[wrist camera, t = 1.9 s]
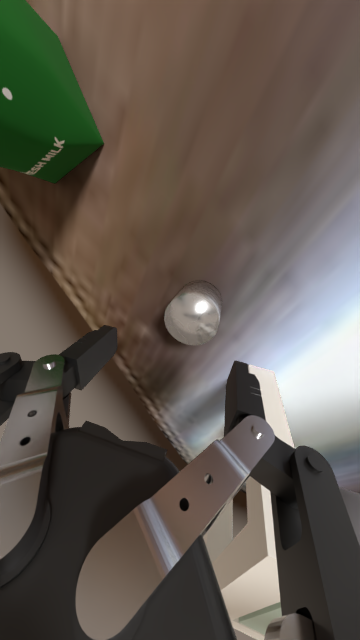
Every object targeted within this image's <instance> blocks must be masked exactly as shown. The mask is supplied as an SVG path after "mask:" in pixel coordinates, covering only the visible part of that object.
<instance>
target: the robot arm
mask: <svg viewBox="0 0 360 640" xmlns="http://www.w3.org/2000/svg"><path fill="white" fill-rule="evenodd" d="M116 350H117V329H116V328H115V327H111V326H107V325H104V326H102V327H101V328H100V329H99V330H94V331H92V332H89V333H87V334H86V335H85V336H83V337H82V338H81V339H79V340H78V341H77V342H75V343H74V344H72V345H71V346H70V347H69V348H67V349H66V350H64V351H63V352H62V353H60V354H59V355H47V356H44V357H42V358H40V359H38V360H37V361H22V360H21V357H20V355H19V354H17V353H14V352H8V353H2V354H0V425H2V424H3V423H4V422H5V421H6V420H7V419H8V418H9V419H8V422H7V425H6V428H5V430H4V433H3V436H2V439H1V442H0V640H237V639H236V636H235V632H234V629H233V626H232V623H231V620H230V617H229V614H228V611H227V608H226V605H225V602H224V599H223V596H222V593H221V590H220V587H219V584H218V581H217V578H216V575H215V572H214V569H213V566H212V563H211V560H210V556H209V553H208V550H207V547H206V544H205V541H204V538H203V537H204V536H205V534H206V533H207V532H208V530H209V529H210V528H211V527H212V525H213V524H214V523H215V521H216V520H217V519H218V518H219V516H220V515H221V514H222V512H223V511H224V509H225V508H226V507H227V505H228V504H229V503H230V501H231V500H232V499H233V497H234V496H235V495H236V494H237V492H238V491H239V490H240V489H241V487H242V486H243V485H244V483H245V482H246V481H247V480H248V478H249V477H252V478H253V479H254V480H256V481H257V482H258V483H260V484H261V485H262V486H264V487H265V488H266V489H268V490H269V491H270V495H271V505H272V516H273V527H274V537H275V548H276V559H277V569H278V580H279V591H280V602H281V612H282V617H278V618H275V619H273V620H272V621H271V622H270V623H269V625H268V627H267V629H266V633H265V638H264V640H360V545H359V542H358V540H357V537H356V534H355V531H354V528H353V526H352V523H351V520H350V517H349V514H348V512H347V509H346V506H345V503H344V501H343V498H342V495H341V492H340V489H339V487H338V484H337V481H336V478H335V475H334V473H333V470H332V468H331V466H330V465H329V463H328V462H327V460H326V459H325V458H324V457H323V456H322V455H321V454H320V453H318V452H317V451H316V450H314V449H312V448H310V447H307V446H299V447H298V448H297V449H295V448H293V447H291V446H290V445H288V444H287V443H285V442H283V441H282V440H280V439H279V438H278V437H276V436H275V435H274V431H273V429H272V428H271V426H270V425H269V424H268V423H267V422H266V418H265V412H264V406H263V401H262V397H261V391H260V383H259V381H258V379H257V377H256V376H255V374H251V373H249V371H248V364H246V363H243V362H239V361H234V363H233V366H232V369H231V371H230V374H229V377H228V380H227V384H226V400H225V427H224V438H223V439H222V440H220V441H219V440H216V441H214V442H213V443H212V444H210V445H209V446H208V447H207V448H206V449H205V450H204V451H203V452H202V453H200V454H199V455H198V456H197V457H196V458H195V459H194V460H193V461H191V462H190V463H189V464H188V465H187V466H186V467H185V468H184V469H182V470H181V471H180V472H179V470H178V469H177V468H176V466H175V465H174V464H173V463H172V462H171V461H170V460H169V459H168V458H166V452H167V450H166V449H163V448H161V447H158V446H155V445H152V444H150V443H147V442H134V441H123V440H121V439H119V438H118V437H117V436H115V435H114V434H113V433H111V432H110V431H109V430H108V429H106V428H105V427H102V426H99V425H97V424H94V423H91V422H88V421H86V422H85V423H84V424H83V426H82V427H75V428H69V415H70V403H71V391H72V390H73V389H74V388H76V389H79V390H82V389H83V388H84V387H85V386H86V385H87V384H88V383H89V382H90V381H91V379H92V378H93V377H94V376H95V375H96V374H97V373H98V372H99V371H100V369H101V368H102V367H103V366H104V365H105V364H106V363H107V362H108V361H109V360H110V359H111V358H112V356H113V355H114V354H115V352H116Z"/></svg>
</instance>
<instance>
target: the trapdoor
mask: <svg viewBox="0 0 360 640" xmlns="http://www.w3.org/2000/svg"><path fill="white" fill-rule="evenodd" d="M339 489H340V492H341V495H342V498H343V501H344V503H345V506H346V509H347V512H348V514H349V517H350V520H351V523H352V526H353V528H354V531H355V534H356V537H357V540H358V542H359V545H360V494H358V493H356V492H353V491H350V490H347V489H344V488H341V487H339ZM278 617H282V612H281V602H278V603H276V604H273V605H270V606H268V607H265V608H262V609H260V610H257V611H255V612H252V613H249V614H247V615H244V616H241V617H239V623H241V624H243V625H245V626H247V627H249V628H251V629H253V630H256V631H258V632H260V633H262V634H264V635H265V633H266V629H267V627H268V625H269V623H270V622H271V621H272V620H273V619H275V618H278Z"/></svg>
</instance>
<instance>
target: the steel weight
mask: <svg viewBox="0 0 360 640" xmlns="http://www.w3.org/2000/svg"><path fill="white" fill-rule="evenodd" d="M221 308H222V298H221V294H220V292H219V291H218V289H217V288H216V287H215V286H214V285H212V284H211V283H209V282H206V281H200V280H198V281H192V282H190V283H188V284H186V285H185V286H184V287H183V288H182V289H181V290H180V292H179V293H178V294H177V295H176V296H175V298H174V299H173V300H172V301H171V302H170V304H169V305H168V306H167V308H166V311H165V315H164V321H165V325H166V328H167V330H168V331H169V333H170V334H171V335H172V336H173V337H174V338H175V339H176V340H178V341H180V342H182V343H184V344H188V345H201V344H204V343H206V342H208V341H210V340H211V339H212V338H213V337H214V336H215V334H216V332H217V330H218V326H219V320H220V314H221Z"/></svg>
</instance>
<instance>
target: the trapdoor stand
mask: <svg viewBox="0 0 360 640" xmlns="http://www.w3.org/2000/svg"><path fill="white" fill-rule="evenodd" d="M248 371H249V373H251V374H255V376H256V377H257V379H258V381H259V383H260V391H261V397H262V401H263V406H264V412H265V418H266V422H267V423H268V424H269V425H270V426H271V428H272V429H273V431H274V435H275V436H276V437H278V438H279V439H280V440H282V441H283V442H285V443H287V444H288V445H290V446H291V447H293V448H295V447H294V443H293V440H292V436H291V432H290V429H289V425H288V421H287V417H286V414H285V410H284V406H283V403H282V399H281V395H280V391H279V388H278V384H277V380H276V377H275V373H274V371H271V370H268V369H264V368H260V367H257V366H253V365H248ZM246 494H247V517H248V523H247V525H246V526H245V527H244V528H243V529H242V530H241V531H240V532H239V534H238V535H237V536H236V537H235V538H234V539H233V537H232V535H233V499H232V500H231V501H230V503H229V504H228V505H227V507H226V508H225V509H224V511H223V512H222V514H221V515H220V516H219V518H218V519H217V520H216V521H215V523H214V524H213V525H212V527H211V528H210V529H209V530H208V532H207V533H206V534H205V536H204V537H203V538H204V541H205V544H206V547H207V550H208V553H209V556H210V560H211V563H212V566H213V569H214V572H215V575H216V578H217V581H218V584H219V587H220V590H221V593H222V596H223V599H224V602H225V605H226V608H227V611H228V614H229V617H230V620H231V623H232V626H233V628H235V629H237V630H239V631H241V632H243V633H245V634H247V635H249V636H251V637H253V638H255V639H257V640H264V638H265V635H264V634H262V633H260V632H258V631H256V630H253V629H251V628H249V627H247V626H245V625H243V624H241V623H239V617H241V616H244V615H247V614H249V613H252V612H255V611H257V610H260V609H262V608H265V607H268V606H270V605H273V604H276V603H278V602H280V591H279V580H278V569H277V559H276V548H275V537H274V527H273V516H272V505H271V495H270V491H269V490H268V489H266V488H265V487H264V486H262V485H261V484H260V483H258V482H257V481H256V480H254V479H253V478H252V477H249V478H248V480H247V481H246Z"/></svg>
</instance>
